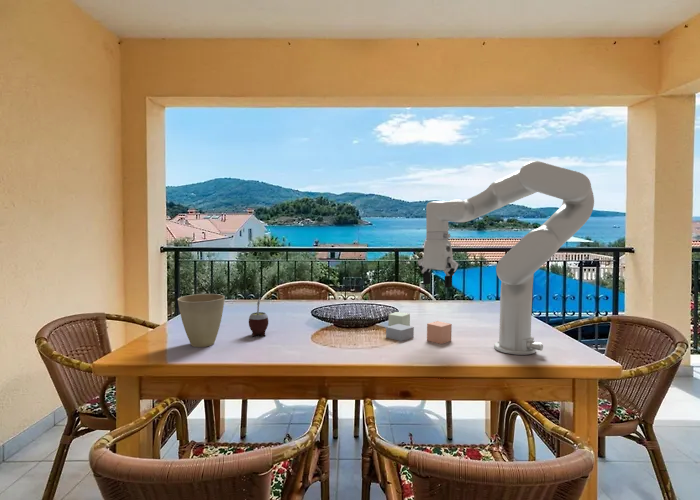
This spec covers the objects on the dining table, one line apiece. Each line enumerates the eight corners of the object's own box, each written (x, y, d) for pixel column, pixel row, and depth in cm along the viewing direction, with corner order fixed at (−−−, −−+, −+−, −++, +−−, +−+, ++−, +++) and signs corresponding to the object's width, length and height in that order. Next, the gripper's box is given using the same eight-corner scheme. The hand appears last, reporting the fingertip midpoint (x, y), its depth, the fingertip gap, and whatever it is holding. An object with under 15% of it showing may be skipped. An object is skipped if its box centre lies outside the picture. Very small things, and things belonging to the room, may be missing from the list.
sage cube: (409, 328, 166) (409, 313, 166) (401, 332, 162) (402, 316, 161) (396, 326, 170) (396, 311, 170) (388, 329, 165) (388, 314, 165)
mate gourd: (258, 331, 161) (257, 292, 160) (274, 334, 157) (273, 294, 156) (243, 336, 154) (243, 295, 154) (260, 339, 150) (259, 297, 149)
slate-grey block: (413, 338, 154) (413, 327, 154) (401, 341, 149) (401, 330, 149) (398, 334, 159) (398, 323, 159) (386, 337, 154) (386, 326, 154)
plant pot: (179, 340, 149) (178, 295, 148) (223, 336, 154) (223, 292, 153) (178, 352, 135) (177, 302, 134) (227, 348, 140) (226, 299, 139)
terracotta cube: (451, 340, 150) (451, 323, 149) (441, 344, 146) (441, 326, 145) (437, 337, 154) (437, 321, 154) (426, 340, 150) (427, 323, 150)
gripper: (464, 237, 145) (464, 287, 146) (425, 236, 159) (425, 282, 160) (450, 237, 140) (450, 289, 141) (411, 236, 154) (411, 284, 155)
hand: (437, 285), depth 151 cm, fingers open, 9 cm apart
